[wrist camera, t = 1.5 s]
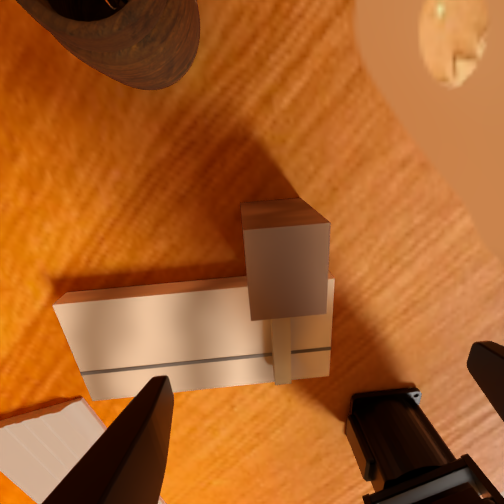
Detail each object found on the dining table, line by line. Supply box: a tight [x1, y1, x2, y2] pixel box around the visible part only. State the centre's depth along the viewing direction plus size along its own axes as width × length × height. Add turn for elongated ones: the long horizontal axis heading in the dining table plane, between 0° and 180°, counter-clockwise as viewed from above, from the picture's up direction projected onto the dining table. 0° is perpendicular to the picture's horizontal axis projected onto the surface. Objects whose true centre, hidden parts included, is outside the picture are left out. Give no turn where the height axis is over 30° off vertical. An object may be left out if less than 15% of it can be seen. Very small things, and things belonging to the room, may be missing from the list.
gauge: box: [240, 198, 330, 385], centre depth 17 cm, size 4×13×6 cm, turn 4°
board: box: [53, 270, 335, 401], centre depth 20 cm, size 19×9×2 cm, turn 94°
